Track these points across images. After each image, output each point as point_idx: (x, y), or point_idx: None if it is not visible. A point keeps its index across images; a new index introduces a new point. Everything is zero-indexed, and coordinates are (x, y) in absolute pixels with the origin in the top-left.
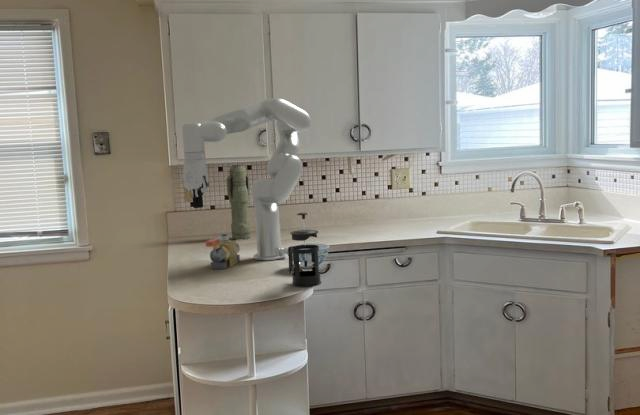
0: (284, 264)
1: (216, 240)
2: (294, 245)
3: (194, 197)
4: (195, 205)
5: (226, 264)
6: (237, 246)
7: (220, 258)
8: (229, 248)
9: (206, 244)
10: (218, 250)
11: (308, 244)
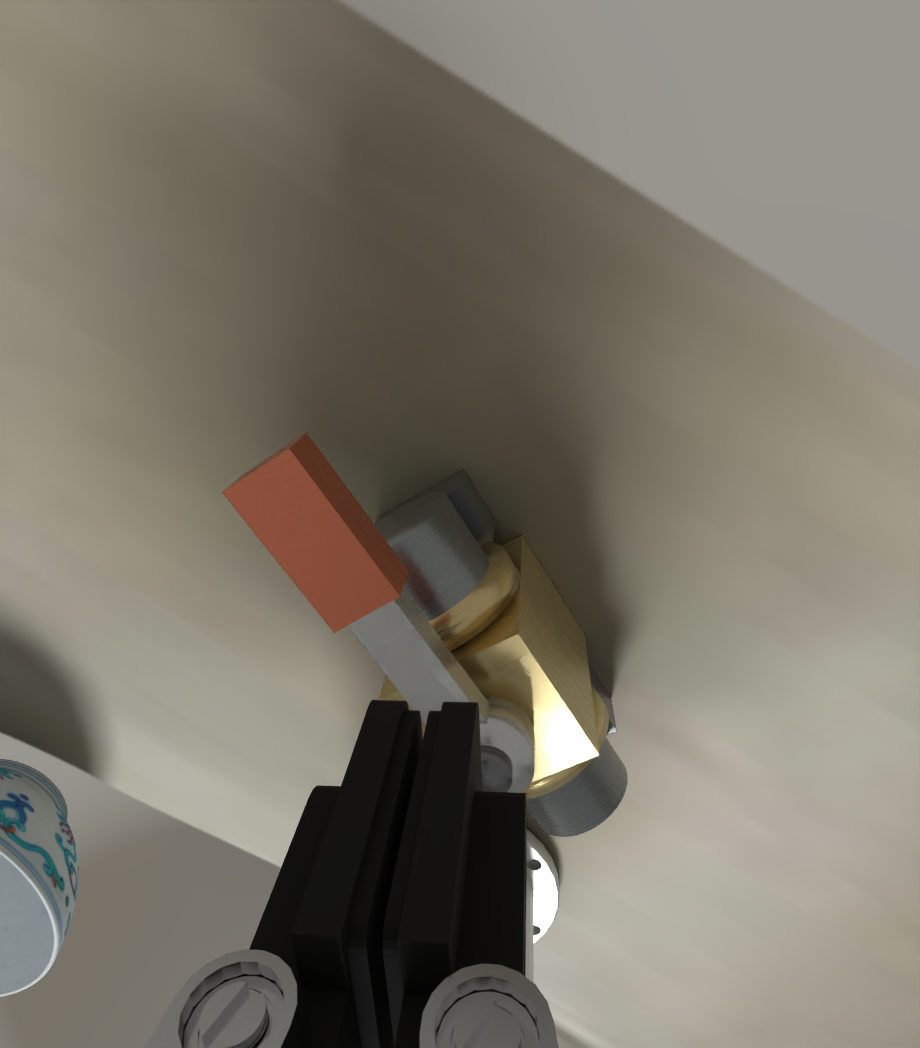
0: (205, 797)
1: (284, 567)
2: (48, 910)
3: (331, 929)
4: (364, 733)
5: None
6: None
7: None
8: None
9: (292, 443)
10: None
11: (41, 969)
